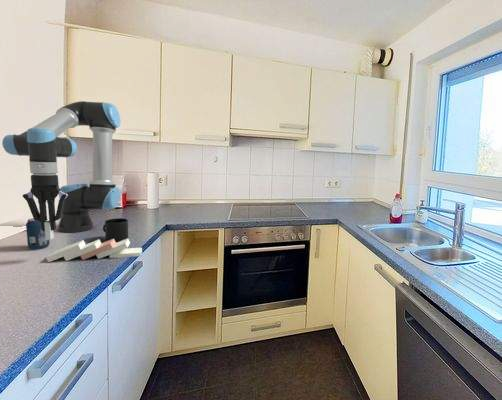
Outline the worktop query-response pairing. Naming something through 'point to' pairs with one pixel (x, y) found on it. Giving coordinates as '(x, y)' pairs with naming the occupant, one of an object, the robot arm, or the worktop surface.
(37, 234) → the soda can
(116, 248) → the domino
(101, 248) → the domino
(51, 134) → the robot arm
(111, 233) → the mug
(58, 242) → the worktop surface
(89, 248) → the domino
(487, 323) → the worktop surface
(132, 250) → the domino
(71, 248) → the domino
